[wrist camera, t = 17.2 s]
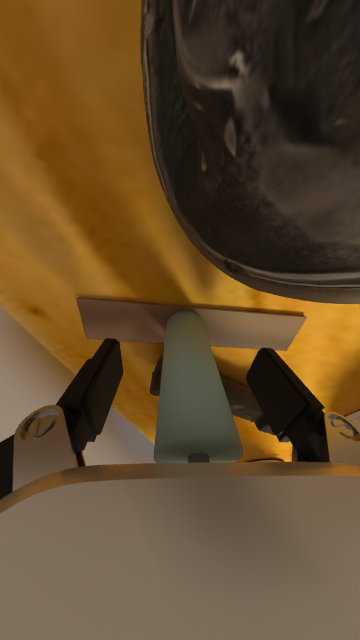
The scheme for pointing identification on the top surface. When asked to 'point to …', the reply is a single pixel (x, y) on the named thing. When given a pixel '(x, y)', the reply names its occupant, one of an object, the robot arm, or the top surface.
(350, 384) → the top surface
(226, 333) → the joist strip
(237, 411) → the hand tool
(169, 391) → the green ice pop
